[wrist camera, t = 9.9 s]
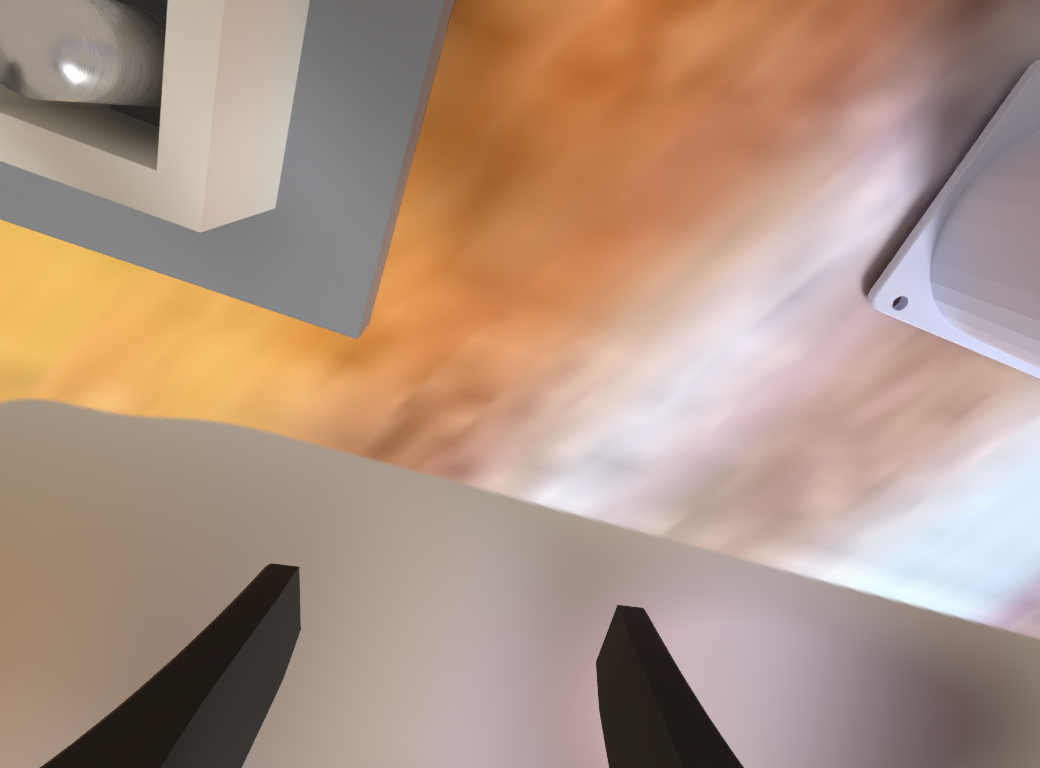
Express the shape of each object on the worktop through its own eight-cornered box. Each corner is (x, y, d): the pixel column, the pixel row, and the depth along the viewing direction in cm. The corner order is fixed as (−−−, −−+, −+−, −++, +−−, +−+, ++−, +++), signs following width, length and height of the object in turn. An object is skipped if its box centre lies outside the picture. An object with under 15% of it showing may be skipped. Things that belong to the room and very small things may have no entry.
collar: (311, -10, 13) (231, -65, 9) (275, 208, 15) (200, 232, 11) (70, -119, 12) (-125, -228, 8) (71, 131, 14) (-81, 132, 11)
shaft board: (476, -82, 13) (445, -245, 7) (368, 323, 18) (300, 414, 12) (-140, -387, 11) (-881, -973, 5) (-69, 174, 16) (-405, 199, 10)
